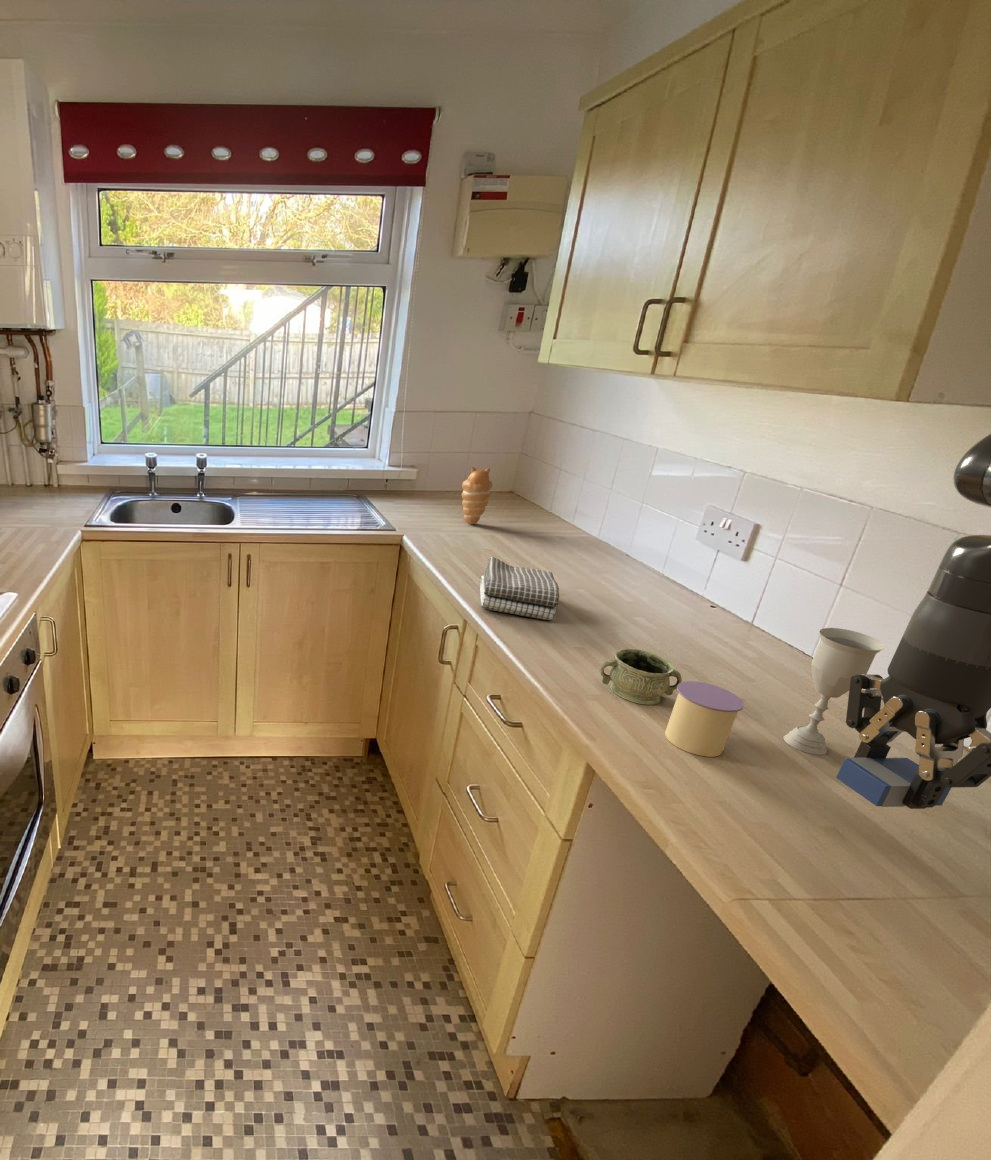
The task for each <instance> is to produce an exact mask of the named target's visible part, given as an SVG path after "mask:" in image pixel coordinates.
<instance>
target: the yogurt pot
mask: <svg viewBox="0 0 991 1160" xmlns="http://www.w3.org/2000/svg"><path fill="white" fill-rule="evenodd" d="M676 691H677V695H676V698H675V702H674V705H673V708H672V711H671V714H670V717H669V720H668V723H667V726H666V729H665V732H664V735H665V738H666V739H667V741H669V742H670V743H671V744H672V745H674V746H675V747H677V748H679V749H680V750H682V751H684V752H687V753H689V754H692V755H696V756H700V757H706V758H708V757H709V758H711V757H717V756H720V755H722V753H723V752H724V749H725V746H726V744H727V741H728V738H729V736H730V733H731V730H732V728H733V726H734V723H735V720H736V717H737V715H738V712H740V711H742V710H743V709H744V707H745V703H744V701H743V700H742V698H740V697H739V696H738V695H737V694H735V693H733V692H732V691H730V690H727V689H726V688H723V687H721V686H718V685H715V684H712V683H708V682H702V681H696V680H685V681H682V682H681V683H679V684H678V686H677V689H676Z"/></svg>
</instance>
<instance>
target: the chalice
mask: <svg viewBox="0 0 991 1160" xmlns="http://www.w3.org/2000/svg"><path fill="white" fill-rule="evenodd" d="M819 636H820V640H819V643H818V646H817V647H816V650H815V653H814V656H813V658H812V660H811V676H812V681H813V685H814V689H815V692H817V693H818V694H820V699H818V701H817V702H815V703H814V708H815V710H814V711H813V712H812V713H809V714H808V717H809V718H810V721H809V723H808V724H807V725H799V726H796V727H793V728H792V729H791V730H790V731H788V733H786V734H785V735H783V737H782V739H783V740H784V742H785V743H786V744H787V745H789V746H791V747H792V748H794V749H796V750H798V751H801V752H804V753H807V754H810V755H818V756H820V755H825V754H827V752H828V751H827V747H826V746H827V743H826V738H825V736H824V734H823V733H822V732H821V731H820V730H819V729H818V725H819V724H820V723H821V722H823V721H825V718H824V713H825V712H826V711H827V710H829V707H828V703H829V701H830V699H832V698H833V699H837V698H840V697H842V696H843V695H845V694H846V693H849V689H850V680H851V677H852V676H853V675H861V674H868V673H869V670H870V668H871V665H872V664H873V661H874V660H875V657H876V655H877V654H878V653H880V652H881V651H882V650H884V649H885V646H886V645H885V644H884V643H883V642H882V641H880V640H879V639H877V638H875V637H873V636H871V635H868V634H865V633H862V632H858V631H855V630H850V629H844V628H841V627H839V628H838V627H824V628H821V629H820V630H819Z"/></svg>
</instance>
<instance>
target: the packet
mask: <svg viewBox="0 0 991 1160" xmlns="http://www.w3.org/2000/svg"><path fill="white" fill-rule="evenodd" d="M915 775H919V763H916V762H915V761H913V760H912V759H910V758H908V757H886V758H854V757H847V758H845V757H844V759H843V761H842V763H841V766H840V768H839V770H838V772H837V774H836V775H835V776H836V777H835V778H836V779H837V780H838V781H839V782H841V783H843V784H844V785H845V786H847V787H848V788H849V789H851V790H853V791H854V792H855V793H857V794H858V795H860V796H861V797H863V798H864V799H865V800H866V801H868V802H870V803H871V804H872V805H874V806H875V807H881V808H898V807H901V808H902V807H903V808H904V807H906V806H905V805H904V804H903V803H902V801H903V799H904V797H905V795H906V793H907V791H908V789H909V787H910V784H911V782H912V780H913V778H914V776H915ZM951 790H952V788H950V787H946V788H945V790H944V792H943V793H942V795H941V797H940V799H939V800H938V803H937V805H935V806H934V807H936V806H939V807H940V806H943V804H944V802H945V800H946V799H947V797H948V795H949V793H950V791H951Z"/></svg>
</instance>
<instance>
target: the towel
mask: <svg viewBox="0 0 991 1160" xmlns="http://www.w3.org/2000/svg"><path fill="white" fill-rule="evenodd" d="M480 577H481V578H480V580H479V598H480V599H479V600H480V606H481V608H482V609H485V610H489V611H494V612H498V613H504V614H512V615H516V616H522V617H527V618H531V619H532V618H533V619H537V620H547V621H553V620H554V616H555V614H556V608H557V607H558V605H559V601H560V600H559V599H560V591H559V590H560V587H559V585H558V583H557V580H555V578H554V577H555V576H554V573H553V572H552V571H549V570H541V569H536V568H529V567H526V568H525V567H521V566H512V565H509V564H507V563H506V562H504V561H503V560H500V559H499V558H496V557H494V556H491V557H489V558H488V559H487V564H486V567H485V570H484V574H483V575H481V576H480Z"/></svg>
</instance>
